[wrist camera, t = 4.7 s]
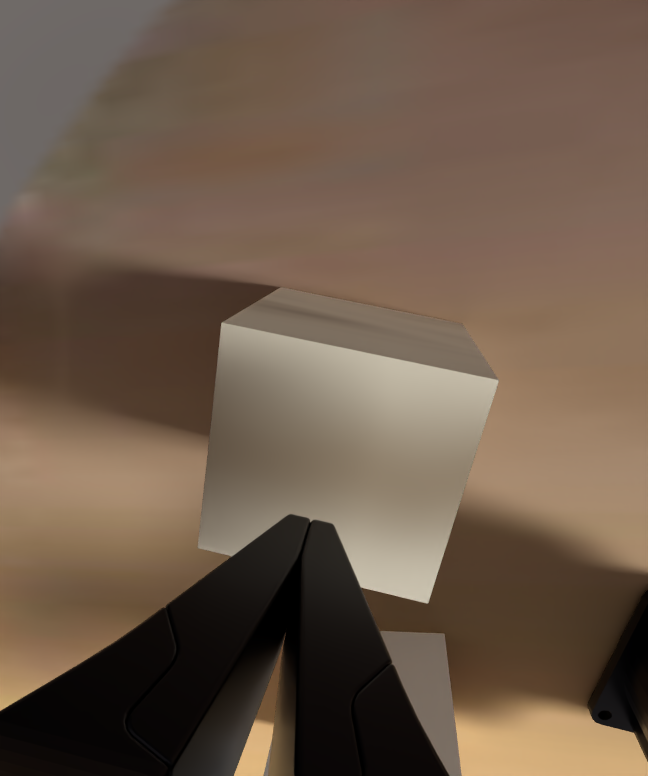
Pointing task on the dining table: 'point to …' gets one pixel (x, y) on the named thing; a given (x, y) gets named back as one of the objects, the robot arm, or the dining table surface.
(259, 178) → the dining table surface
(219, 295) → the dining table surface
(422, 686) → the off-white numbered cube
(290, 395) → the plain ash cube
